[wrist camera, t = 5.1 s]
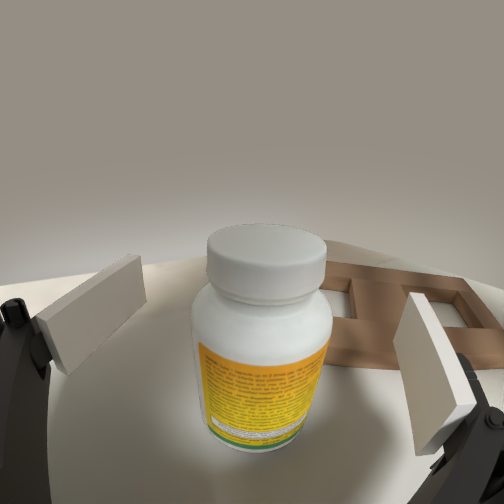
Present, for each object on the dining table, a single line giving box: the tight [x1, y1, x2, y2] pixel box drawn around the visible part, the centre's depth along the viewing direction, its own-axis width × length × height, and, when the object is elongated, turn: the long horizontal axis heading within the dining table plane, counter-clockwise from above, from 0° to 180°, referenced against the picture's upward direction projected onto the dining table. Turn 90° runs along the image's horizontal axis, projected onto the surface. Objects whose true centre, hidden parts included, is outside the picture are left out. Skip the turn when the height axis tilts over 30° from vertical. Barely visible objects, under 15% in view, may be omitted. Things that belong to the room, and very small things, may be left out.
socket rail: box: [319, 261, 504, 370], centre depth 22 cm, size 24×14×2 cm, turn 76°
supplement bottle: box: [191, 224, 333, 453], centre depth 11 cm, size 5×5×10 cm
